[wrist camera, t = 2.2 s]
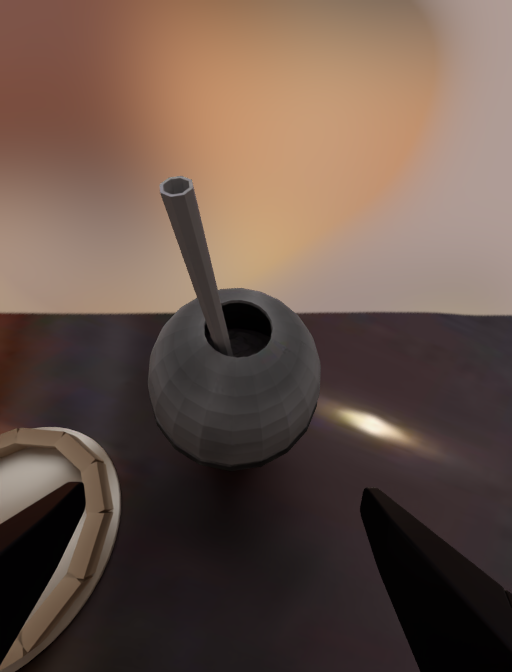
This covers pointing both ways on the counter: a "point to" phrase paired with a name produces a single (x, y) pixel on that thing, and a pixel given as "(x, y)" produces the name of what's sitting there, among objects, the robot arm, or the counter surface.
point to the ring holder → (89, 537)
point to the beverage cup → (228, 361)
